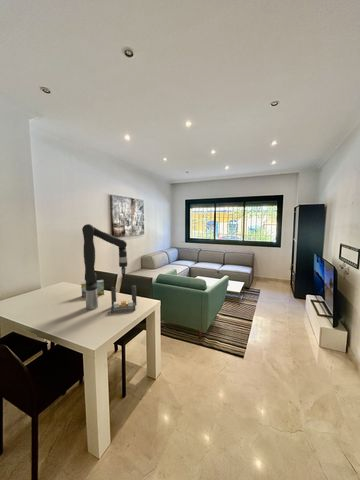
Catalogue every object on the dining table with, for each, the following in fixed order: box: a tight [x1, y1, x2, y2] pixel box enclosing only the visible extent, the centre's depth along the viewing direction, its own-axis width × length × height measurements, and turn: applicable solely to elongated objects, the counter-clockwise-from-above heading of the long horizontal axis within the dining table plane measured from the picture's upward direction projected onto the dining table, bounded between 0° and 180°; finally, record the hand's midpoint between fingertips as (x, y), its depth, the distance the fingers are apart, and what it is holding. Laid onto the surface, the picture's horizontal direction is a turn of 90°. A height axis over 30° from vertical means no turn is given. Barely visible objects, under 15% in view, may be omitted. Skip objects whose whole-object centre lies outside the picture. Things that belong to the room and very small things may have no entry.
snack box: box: [80, 279, 105, 298], centre depth 204 cm, size 21×6×15 cm, turn 112°
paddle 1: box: [114, 301, 120, 308], centre depth 170 cm, size 4×4×4 cm
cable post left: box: [110, 286, 117, 306], centre depth 178 cm, size 4×4×18 cm
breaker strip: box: [110, 302, 136, 314], centre depth 171 cm, size 20×7×5 cm, turn 103°
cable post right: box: [131, 285, 137, 306], centre depth 182 cm, size 4×4×18 cm
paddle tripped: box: [120, 300, 127, 307], centre depth 171 cm, size 4×4×4 cm
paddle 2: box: [127, 299, 133, 306], centre depth 173 cm, size 4×4×4 cm
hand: (123, 279), depth 186 cm, fingers closed
